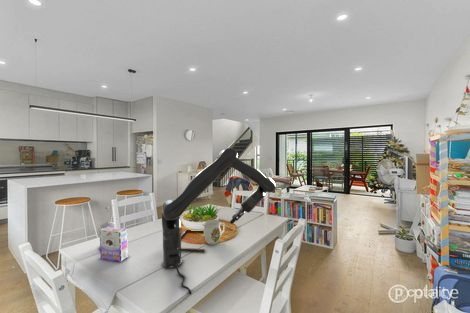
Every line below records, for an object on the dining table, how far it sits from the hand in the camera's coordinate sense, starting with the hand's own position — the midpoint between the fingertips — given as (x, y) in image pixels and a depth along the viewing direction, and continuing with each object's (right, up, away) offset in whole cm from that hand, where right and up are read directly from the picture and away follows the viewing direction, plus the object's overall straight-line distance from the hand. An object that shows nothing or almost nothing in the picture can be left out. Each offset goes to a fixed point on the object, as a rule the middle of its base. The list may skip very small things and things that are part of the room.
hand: (231, 220), depth 138 cm
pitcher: (-12, -15, +3) cm, 19 cm away
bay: (-25, -15, +5) cm, 29 cm away
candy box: (-65, -16, -17) cm, 69 cm away
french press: (-77, -15, -3) cm, 78 cm away
